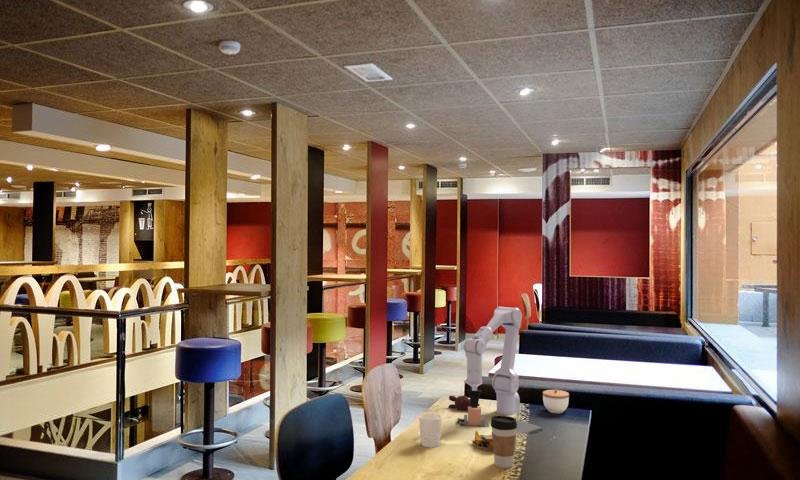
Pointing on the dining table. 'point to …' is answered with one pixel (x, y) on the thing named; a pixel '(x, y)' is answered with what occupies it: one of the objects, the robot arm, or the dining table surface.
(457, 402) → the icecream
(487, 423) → the vise
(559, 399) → the lidded jar
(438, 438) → the white cup
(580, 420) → the dining table surface
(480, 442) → the toy sandwich meal
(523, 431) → the mat
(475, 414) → the block
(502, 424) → the coffee cup
